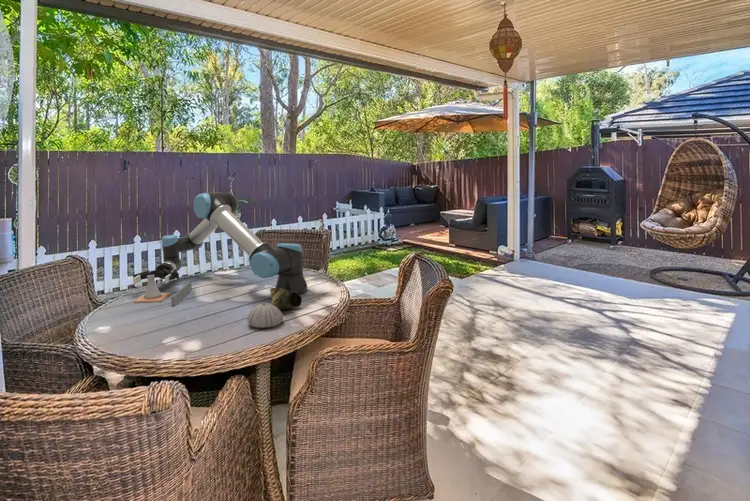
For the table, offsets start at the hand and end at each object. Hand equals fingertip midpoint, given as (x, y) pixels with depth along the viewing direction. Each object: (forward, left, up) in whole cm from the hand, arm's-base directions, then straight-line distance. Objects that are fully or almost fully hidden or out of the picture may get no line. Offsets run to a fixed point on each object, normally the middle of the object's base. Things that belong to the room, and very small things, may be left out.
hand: (150, 280), depth 201 cm
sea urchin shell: (-63, -28, -9) cm, 69 cm away
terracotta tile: (0, -1, -8) cm, 9 cm away
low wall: (-6, -12, -8) cm, 16 cm away
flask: (+1, -1, -8) cm, 8 cm away
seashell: (-53, -41, -9) cm, 67 cm away
